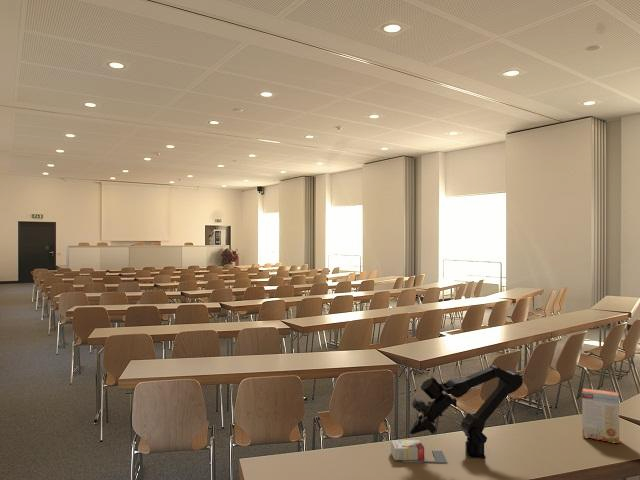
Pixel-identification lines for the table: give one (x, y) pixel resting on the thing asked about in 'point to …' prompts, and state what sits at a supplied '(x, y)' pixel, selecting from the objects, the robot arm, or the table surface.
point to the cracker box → (600, 415)
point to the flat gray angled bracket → (438, 457)
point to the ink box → (407, 450)
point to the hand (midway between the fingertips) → (410, 433)
